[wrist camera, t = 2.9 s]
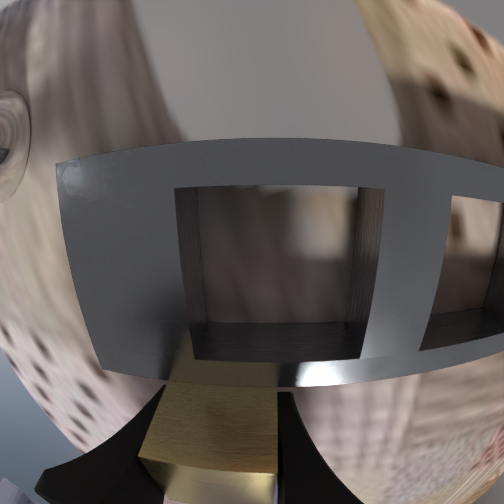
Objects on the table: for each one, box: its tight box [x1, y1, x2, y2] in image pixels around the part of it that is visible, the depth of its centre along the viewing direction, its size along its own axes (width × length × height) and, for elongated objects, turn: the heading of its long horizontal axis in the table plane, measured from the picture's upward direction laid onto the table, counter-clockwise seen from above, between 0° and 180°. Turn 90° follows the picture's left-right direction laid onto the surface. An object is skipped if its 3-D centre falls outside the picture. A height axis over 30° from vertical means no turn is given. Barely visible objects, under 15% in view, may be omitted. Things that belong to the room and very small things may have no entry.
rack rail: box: [56, 138, 504, 387], centre depth 9 cm, size 8×22×2 cm, turn 91°
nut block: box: [138, 380, 278, 504], centre depth 9 cm, size 4×4×6 cm
